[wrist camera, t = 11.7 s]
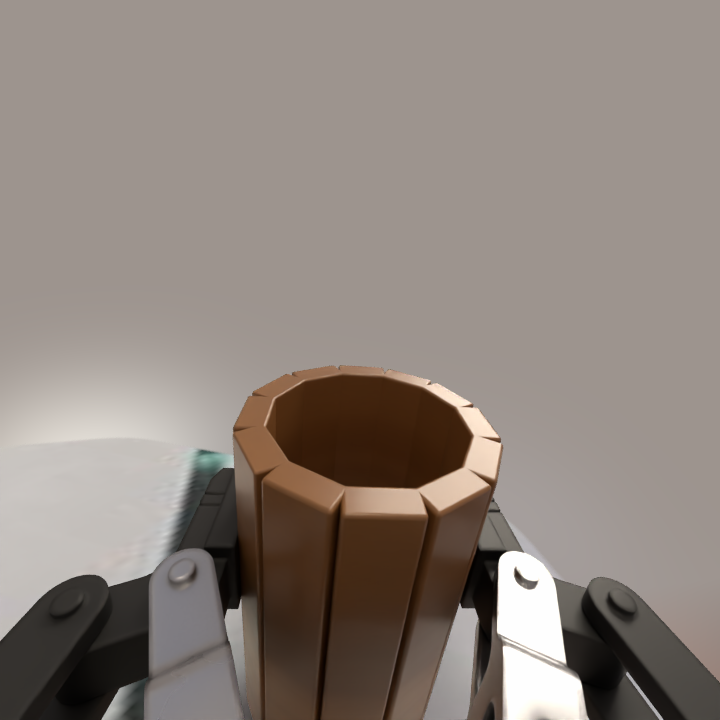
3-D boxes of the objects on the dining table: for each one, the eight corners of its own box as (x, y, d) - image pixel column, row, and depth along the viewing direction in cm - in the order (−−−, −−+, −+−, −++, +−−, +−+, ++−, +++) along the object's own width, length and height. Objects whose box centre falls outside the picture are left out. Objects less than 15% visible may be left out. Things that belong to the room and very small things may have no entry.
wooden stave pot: (224, 802, 9) (188, 512, 5) (267, 578, 14) (265, 359, 11) (448, 789, 9) (564, 520, 6) (407, 579, 15) (452, 371, 11)
